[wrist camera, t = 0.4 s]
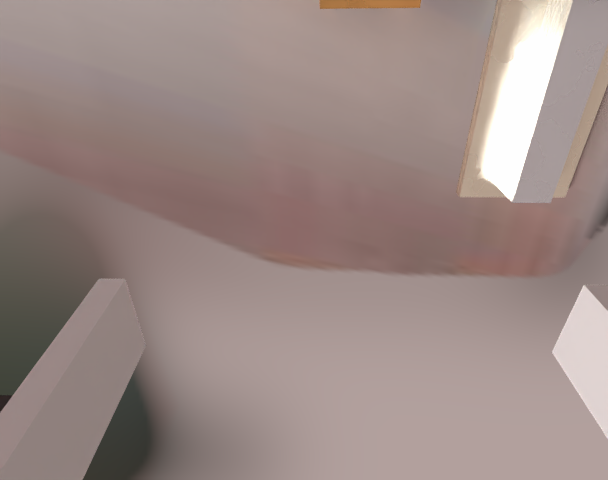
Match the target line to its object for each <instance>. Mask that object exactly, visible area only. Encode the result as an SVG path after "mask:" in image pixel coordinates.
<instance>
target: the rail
mask: <svg viewBox="0 0 608 480" xmlns="http://www.w3.org/2000/svg"><path fill="white" fill-rule="evenodd" d="M607 85H608V0H497V4H496V8H495V13H494V18H493V22H492V27H491V32H490V36H489V41H488V46H487V50H486V55H485V60H484V64H483V69H482V74H481V78H480V83H479V88H478V92H477V97H476V102H475V106H474V111H473V116H472V120H471V125H470V130H469V134H468V139H467V144H466V148H465V153H464V158H463V162H462V167H461V172H460V176H459V181H458V186H457V190H456V193H457V194H458V196H459V197H507V198H508V199H509V200H510V201H511V202H512V203H551V200H552V198H553V197H565V196H566V193H567V191H568V188H569V186H570V183H571V180H572V178H573V175H574V172H575V170H576V167H577V164H578V162H579V159H580V156H581V154H582V151H583V149H584V146H585V143H586V141H587V138H588V135H589V133H590V130H591V127H592V125H593V122H594V120H595V117H596V114H597V112H598V109H599V106H600V104H601V101H602V98H603V96H604V93H605V90H606V88H607Z"/></svg>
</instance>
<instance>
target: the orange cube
mask: <svg viewBox="0 0 608 480" xmlns="http://www.w3.org/2000/svg"><path fill="white" fill-rule="evenodd" d="M420 3H421V0H319V5H320V9H334V8H420Z"/></svg>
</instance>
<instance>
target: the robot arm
mask: <svg viewBox="0 0 608 480" xmlns="http://www.w3.org/2000/svg"><path fill="white" fill-rule="evenodd" d="M145 346H146V344H145V341H144V338H143V335H142V331H141V328H140V325H139V322H138V319H137V315H136V312H135V309H134V306H133V303H132V299H131V296H130V293H129V290H128V286H127V283H126V280H125V279H99V280H98V281H97V283H96V284H95V285H94V286H93V288H92V289H91V290H90V292H89V294H88V295H87V296H86V297H85V299H84V300H83V301H82V303H81V304H80V305H79V307H78V308H77V309H76V311H75V312H74V314H73V315H72V316H71V318H70V319H69V320H68V322H67V323H66V324H65V326H64V327H63V328H62V330H61V331H60V332H59V334H58V335H57V336H56V338H55V339H54V341H53V342H52V343H51V345H50V346H49V347H48V349H47V350H46V352H45V353H44V354H43V356H42V357H41V358H40V360H39V361H38V362H37V363H36V365H35V366H34V368H33V369H32V370H31V372H30V373H29V374H28V376H27V377H26V379H25V380H24V381H23V382H22V384H21V385H20V387H19V388H18V389H17V391H16V392H15V393H14V395H13V396H10V395H0V480H82V479H83V477H84V475H85V473H86V471H87V469H88V466H89V465H90V462H91V460H92V458H93V456H94V454H95V452H96V449H97V448H98V445H99V443H100V441H101V439H102V437H103V435H104V433H105V431H106V429H107V426H108V424H109V422H110V420H111V418H112V416H113V414H114V412H115V409H116V408H117V405H118V403H119V401H120V399H121V397H122V395H123V392H124V391H125V388H126V386H127V384H128V382H129V380H130V378H131V375H132V373H133V372H134V369H135V367H136V365H137V363H138V361H139V359H140V357H141V355H142V353H143V350H144V348H145ZM552 353H553V355H554V356H555V358H556V359H557V361H558V362H559V364H560V365H561V367H562V369H563V370H564V371H565V373H566V375H567V376H568V378H569V380H570V381H571V383H572V384H573V386H574V387H575V389H576V390H577V392H578V394H579V395H580V397H581V398H582V400H583V401H584V403H585V404H586V406H587V408H588V409H589V410H590V412H591V414H592V415H593V417H594V418H595V420H596V422H597V423H598V425H599V426H600V428H601V429H602V431H603V432H604V434H605V436H606V437H607V439H608V285H584V286H583V288H582V290H581V292H580V294H579V296H578V298H577V301H576V303H575V305H574V307H573V309H572V311H571V313H570V315H569V317H568V320H567V322H566V324H565V326H564V328H563V330H562V332H561V334H560V336H559V338H558V341H557V343H556V345H555V347H554V349H553V351H552Z"/></svg>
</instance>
